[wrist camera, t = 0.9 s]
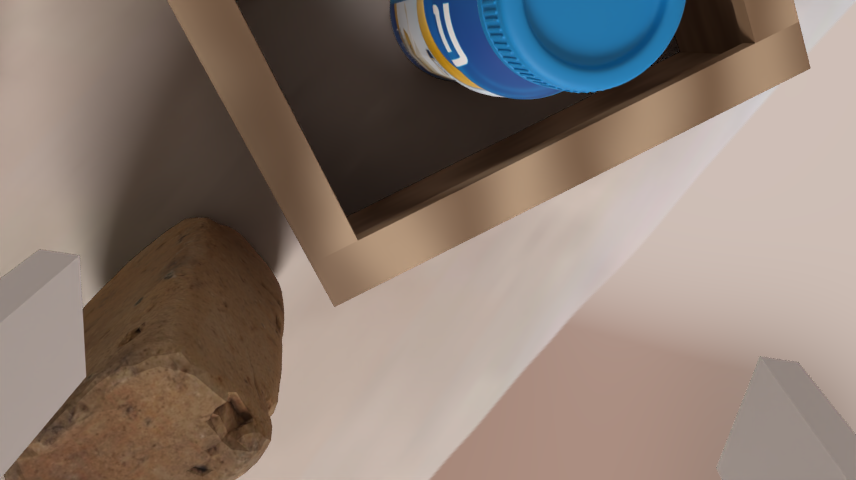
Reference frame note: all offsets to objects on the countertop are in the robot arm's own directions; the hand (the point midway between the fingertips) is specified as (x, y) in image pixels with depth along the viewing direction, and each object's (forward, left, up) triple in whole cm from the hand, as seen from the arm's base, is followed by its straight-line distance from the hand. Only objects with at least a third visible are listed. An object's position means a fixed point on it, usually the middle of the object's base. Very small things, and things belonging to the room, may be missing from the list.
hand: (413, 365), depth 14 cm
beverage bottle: (+10, +4, -31) cm, 33 cm away
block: (-12, -4, -31) cm, 33 cm away
